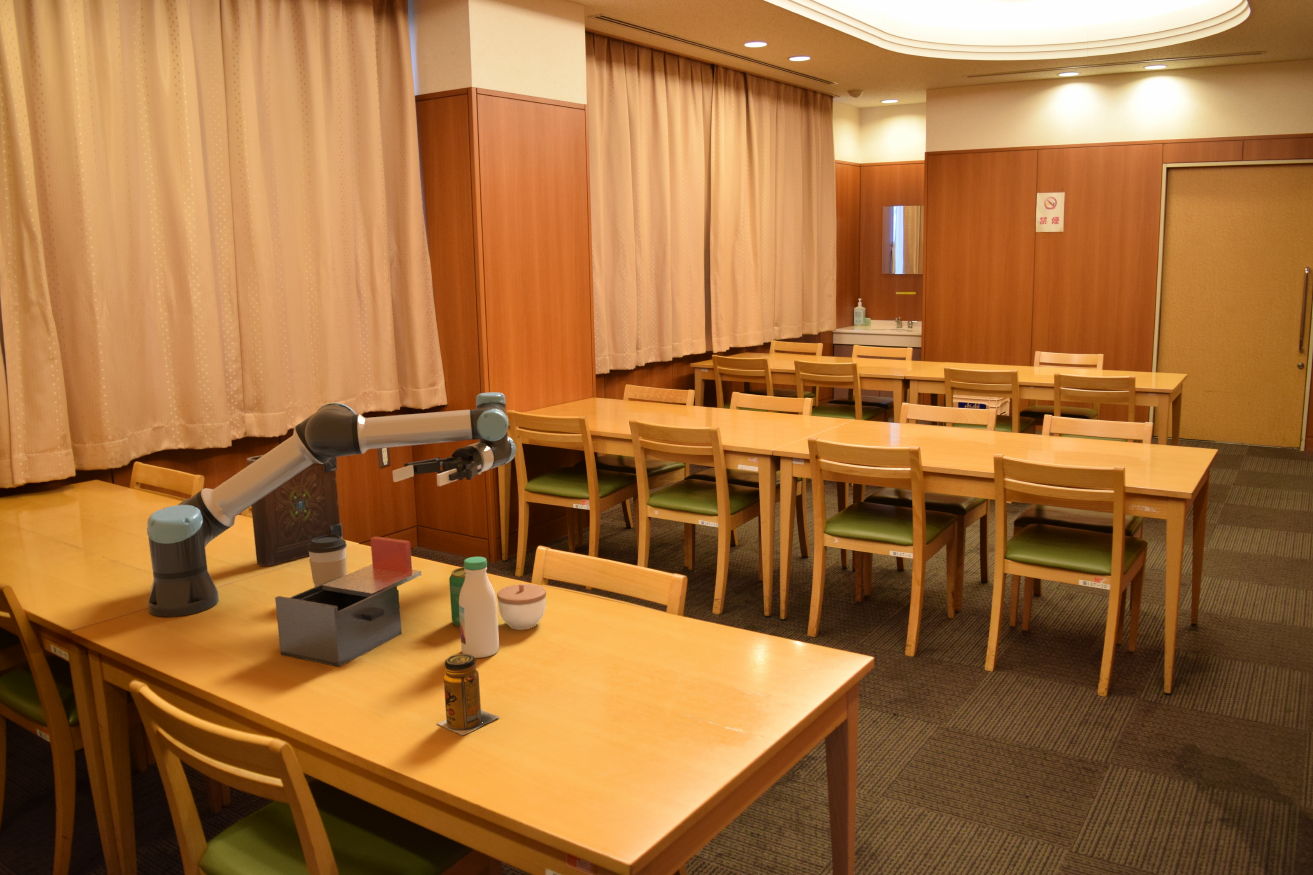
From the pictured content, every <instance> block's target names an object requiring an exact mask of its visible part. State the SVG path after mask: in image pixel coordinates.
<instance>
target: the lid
mask: <svg viewBox="0 0 1313 875" xmlns="http://www.w3.org/2000/svg"><path fill="white" fill-rule="evenodd" d="M370 549H371V564H370V565H367V566H365V567H362V568H359V569H357V570H355V571H352V572H350V573H347V575H345V576H343V577H340V578H338V579H336V580H333V581H331V582H328V583H326V584H324V585H322V590H328V591H334V592H340V593H346V594H352V595H358V596H363V597H370V596H372V595H375V594H377V593H379V592H381V591H383V590H385V589H388V588H390V587H392V586H394V585H397V587H399V586H402V585H403V584H406V583H409V581H412V580H415V579H416V578H418V577H421V576H422V570H417V569H413V566H412V553H411V541H410V540H404V539H397V538H391V537H390V538H389V537H382V536H376V535H375V536H373V537H370Z"/></svg>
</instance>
